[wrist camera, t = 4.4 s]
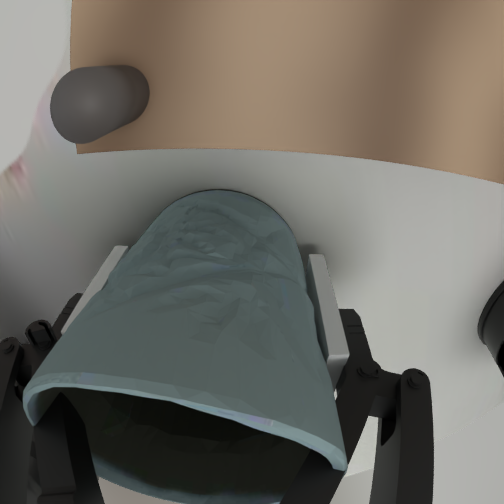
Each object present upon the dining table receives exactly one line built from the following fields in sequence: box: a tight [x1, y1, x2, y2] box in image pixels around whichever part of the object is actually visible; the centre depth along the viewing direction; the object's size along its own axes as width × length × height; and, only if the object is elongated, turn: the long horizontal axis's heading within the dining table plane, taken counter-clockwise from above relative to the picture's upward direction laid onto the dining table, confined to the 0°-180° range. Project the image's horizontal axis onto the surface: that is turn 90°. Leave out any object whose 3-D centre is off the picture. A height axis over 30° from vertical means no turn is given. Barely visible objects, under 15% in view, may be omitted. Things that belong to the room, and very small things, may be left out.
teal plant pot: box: [23, 190, 348, 504], centre depth 13 cm, size 10×10×12 cm
